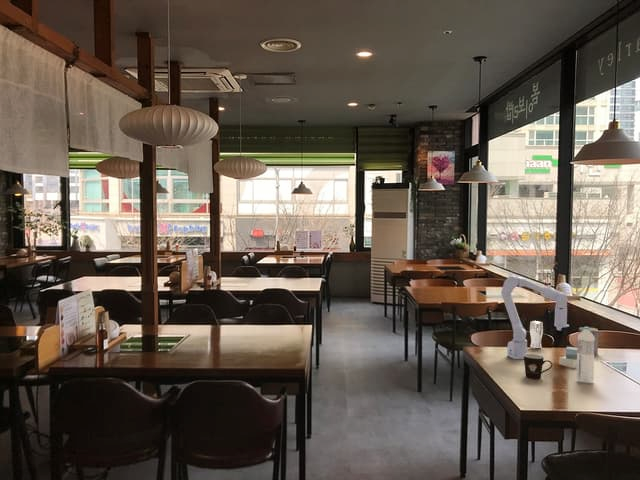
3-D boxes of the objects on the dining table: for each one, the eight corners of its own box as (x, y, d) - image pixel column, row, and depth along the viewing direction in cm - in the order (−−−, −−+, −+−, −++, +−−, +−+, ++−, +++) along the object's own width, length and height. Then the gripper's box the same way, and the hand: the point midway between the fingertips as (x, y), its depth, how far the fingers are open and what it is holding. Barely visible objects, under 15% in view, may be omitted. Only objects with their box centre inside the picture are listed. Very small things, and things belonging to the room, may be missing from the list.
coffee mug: (519, 376, 241) (519, 355, 241) (529, 373, 247) (530, 353, 246) (543, 383, 232) (543, 360, 232) (553, 379, 237) (553, 358, 237)
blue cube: (576, 359, 260) (577, 349, 260) (565, 358, 262) (566, 348, 262) (577, 357, 264) (577, 347, 264) (566, 356, 267) (566, 346, 267)
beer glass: (541, 346, 304) (542, 321, 304) (542, 349, 298) (543, 323, 297) (529, 345, 306) (529, 320, 306) (529, 348, 300) (530, 322, 299)
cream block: (573, 368, 258) (573, 360, 258) (559, 364, 265) (559, 357, 265) (583, 367, 262) (583, 359, 261) (569, 363, 269) (569, 355, 269)
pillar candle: (578, 350, 296) (578, 324, 296) (597, 352, 292) (598, 325, 291) (578, 354, 288) (578, 327, 287) (598, 356, 283) (598, 328, 283)
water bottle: (592, 385, 230) (594, 329, 229) (575, 382, 233) (577, 327, 233) (594, 381, 235) (595, 326, 235) (577, 379, 239) (578, 325, 238)
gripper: (567, 318, 262) (567, 345, 262) (570, 314, 274) (570, 340, 274) (552, 317, 265) (551, 343, 266) (556, 313, 278) (555, 338, 278)
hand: (560, 341), depth 270 cm, fingers open, 7 cm apart
